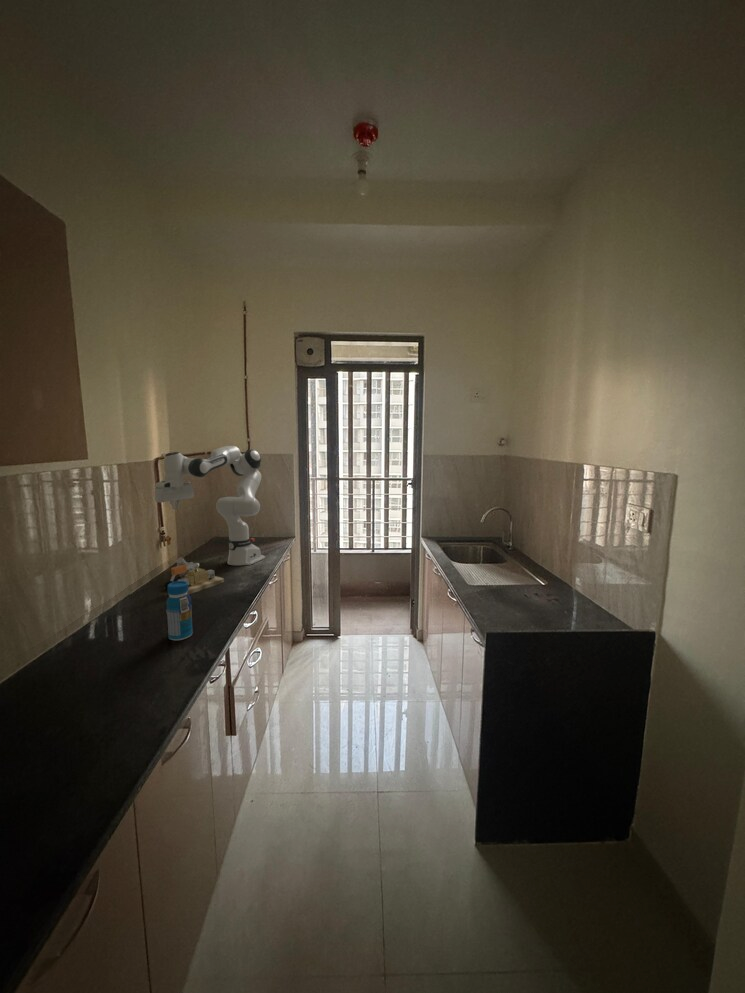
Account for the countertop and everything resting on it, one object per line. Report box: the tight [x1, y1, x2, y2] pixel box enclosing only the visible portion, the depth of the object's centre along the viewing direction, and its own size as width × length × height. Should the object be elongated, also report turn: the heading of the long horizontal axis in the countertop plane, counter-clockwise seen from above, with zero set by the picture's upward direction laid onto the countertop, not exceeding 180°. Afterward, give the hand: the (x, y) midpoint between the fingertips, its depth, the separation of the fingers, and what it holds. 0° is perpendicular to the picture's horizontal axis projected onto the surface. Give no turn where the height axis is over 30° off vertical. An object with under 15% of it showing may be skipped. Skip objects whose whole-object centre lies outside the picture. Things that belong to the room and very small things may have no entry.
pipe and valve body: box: [177, 567, 216, 586], centre depth 193 cm, size 18×5×8 cm, turn 149°
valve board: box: [187, 575, 225, 596], centre depth 194 cm, size 22×12×2 cm, turn 149°
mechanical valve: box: [164, 557, 195, 590], centre depth 198 cm, size 10×18×15 cm
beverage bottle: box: [165, 580, 194, 642], centre depth 144 cm, size 8×8×20 cm
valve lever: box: [170, 562, 200, 576], centre depth 188 cm, size 13×3×3 cm, turn 148°
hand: (175, 508), depth 210 cm, fingers closed
